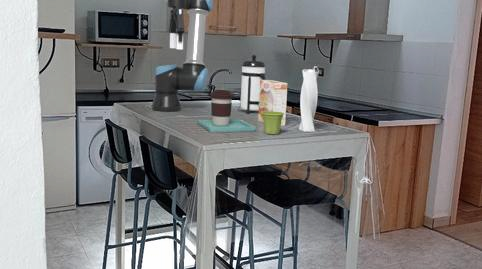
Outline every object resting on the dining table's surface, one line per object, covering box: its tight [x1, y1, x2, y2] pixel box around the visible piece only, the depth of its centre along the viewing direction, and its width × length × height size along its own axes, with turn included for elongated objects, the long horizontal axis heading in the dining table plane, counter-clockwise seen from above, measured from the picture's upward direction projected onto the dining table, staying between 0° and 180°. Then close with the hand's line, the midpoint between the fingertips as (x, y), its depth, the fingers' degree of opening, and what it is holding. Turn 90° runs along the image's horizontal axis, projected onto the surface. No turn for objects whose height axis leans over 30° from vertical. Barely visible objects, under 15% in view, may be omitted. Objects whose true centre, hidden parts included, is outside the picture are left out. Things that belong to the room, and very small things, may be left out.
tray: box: [197, 119, 257, 133], centre depth 215 cm, size 20×20×2 cm
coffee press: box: [237, 54, 267, 114], centre depth 262 cm, size 17×16×30 cm
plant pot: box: [261, 111, 284, 135], centre depth 206 cm, size 9×9×9 cm
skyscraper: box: [296, 65, 320, 133], centre depth 213 cm, size 8×8×28 cm
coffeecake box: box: [257, 79, 288, 127], centre depth 230 cm, size 15×7×20 cm, turn 23°
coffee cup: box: [209, 89, 234, 126], centre depth 217 cm, size 10×10×15 cm
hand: (176, 48), depth 217 cm, fingers open, 13 cm apart
